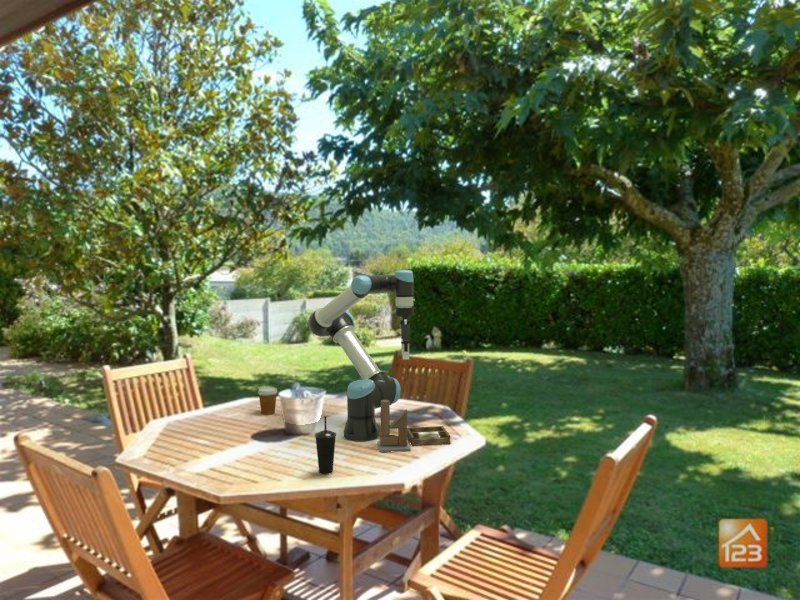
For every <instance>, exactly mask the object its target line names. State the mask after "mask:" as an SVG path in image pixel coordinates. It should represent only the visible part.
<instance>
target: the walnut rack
mask: <svg viewBox="0 0 800 600" xmlns="http://www.w3.org/2000/svg"><path fill="white" fill-rule="evenodd" d="M418 432H438V433H439V436H440V438H427V439H418ZM407 441H408V443H409V444H410V443H411V444H410V446H411V445H412V446H411V447H418V446H421V447H423V446H437V445H439V446H440V445H442V444H443V445H451V435H450V433H449V432H448V430H447V429H446V428H445V427H444V425H439V426H438V425H436V426H435V425H433V426H417V427H415V426H413V427H407ZM422 445H423V446H422Z"/></svg>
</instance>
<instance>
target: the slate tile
mask: <svg viewBox="0 0 800 600" xmlns="http://www.w3.org/2000/svg"><path fill="white" fill-rule="evenodd" d="M376 445H377V448H378V447H379V448H378V450H379V453H380V452H383V453H392V452H391V451H402V452H411V451H410V450H411V449H412V448H411V447H410V445H409V442H407V446H380V440H378V441H376Z"/></svg>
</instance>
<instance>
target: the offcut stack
mask: <svg viewBox="0 0 800 600" xmlns="http://www.w3.org/2000/svg"><path fill="white" fill-rule="evenodd" d="M427 438H440V436H439V433H438V432H418V439H427Z"/></svg>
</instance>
